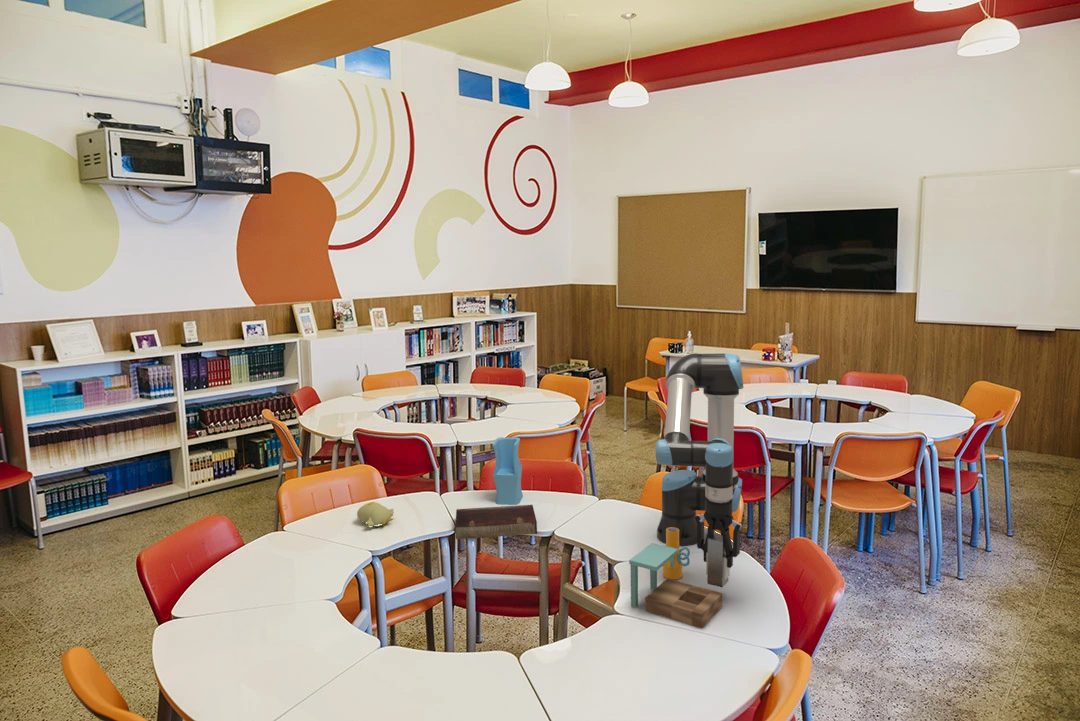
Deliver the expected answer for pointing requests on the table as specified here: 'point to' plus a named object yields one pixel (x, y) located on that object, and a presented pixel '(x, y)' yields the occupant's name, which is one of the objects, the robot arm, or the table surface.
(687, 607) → the socket block
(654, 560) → the teal miniature table
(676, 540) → the cylinder
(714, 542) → the peg
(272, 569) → the table surface
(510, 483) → the blue high-backed chair
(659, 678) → the table surface
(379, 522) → the toy
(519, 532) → the hardback book
